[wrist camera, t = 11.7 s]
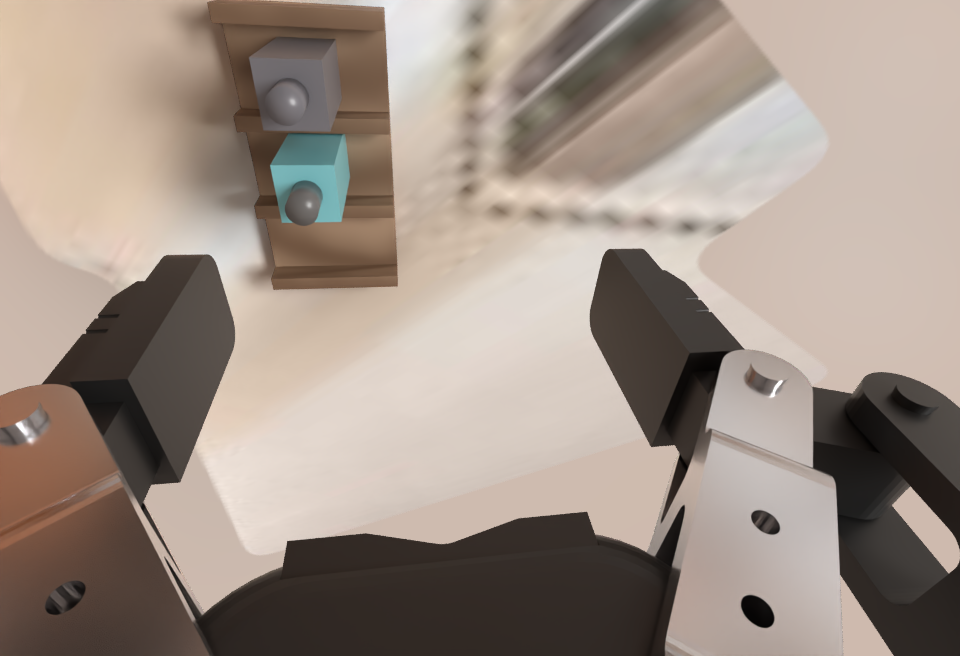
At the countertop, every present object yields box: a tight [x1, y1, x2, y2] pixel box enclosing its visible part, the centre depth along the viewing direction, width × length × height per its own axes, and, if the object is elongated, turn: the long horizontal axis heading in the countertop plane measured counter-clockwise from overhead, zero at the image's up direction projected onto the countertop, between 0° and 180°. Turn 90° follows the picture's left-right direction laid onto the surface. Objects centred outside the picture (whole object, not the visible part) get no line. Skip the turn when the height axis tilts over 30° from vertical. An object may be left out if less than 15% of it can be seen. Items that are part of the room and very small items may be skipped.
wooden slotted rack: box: [207, 0, 398, 290], centre depth 36 cm, size 20×10×3 cm, turn 177°
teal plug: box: [270, 133, 350, 226], centre depth 32 cm, size 4×4×10 cm
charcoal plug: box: [249, 37, 342, 132], centre depth 29 cm, size 4×4×10 cm
